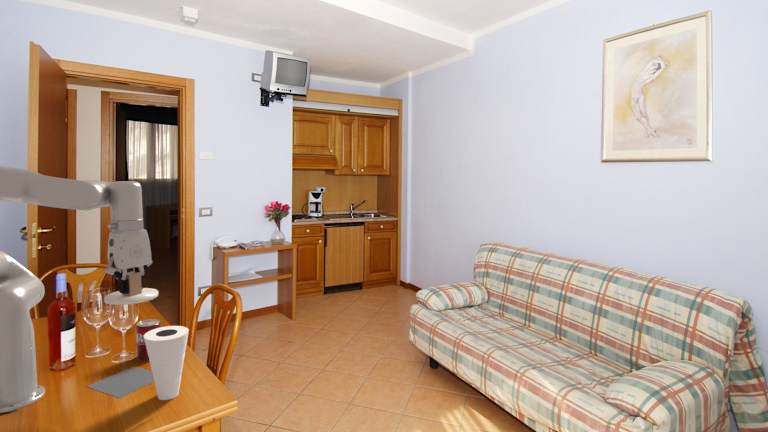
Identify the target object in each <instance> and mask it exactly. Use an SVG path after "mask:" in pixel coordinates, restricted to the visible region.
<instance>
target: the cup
mask: <svg viewBox="0 0 768 432" xmlns="http://www.w3.org/2000/svg"><path fill="white" fill-rule="evenodd" d="M189 330H190V329H189V328H188V327H187V326H182V325H168V326H167V325H166V326H161V327H160V328H156V329H153V330H151V331H148V332H147V333H145V335H144V339H145V344H146V348H147V352H148V356H149V361H148V362H149V365H150V369H151V372H152V373H153V377H154V382H153V383H154V386H155V391H156V395H157V399H158V400H160V401H168V400H173V399H175V398H177V396H179V395H180V394H179V392H180V387H181V381H182V373H183V367H184V363H185V355H186V350H187V344H188V337H189Z"/></svg>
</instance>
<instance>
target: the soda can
mask: <svg viewBox="0 0 768 432" xmlns="http://www.w3.org/2000/svg"><path fill="white" fill-rule="evenodd" d="M160 327H162V322H161V321H160V319H157V318H156V319H155V318H150V319H144V320H141V321H138V322H137V323H136V325H135V342H136V343H135V344H136V350H135V351H136V360H137V361H139V362H150V361H149V356H148V352H147V348H146V344H145V339H144V335H145V333H147V332H148V331H151V330H153V329H156V328H160Z"/></svg>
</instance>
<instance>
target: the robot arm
mask: <svg viewBox="0 0 768 432" xmlns="http://www.w3.org/2000/svg"><path fill="white" fill-rule="evenodd" d="M0 201H4V202H11V203H12V202H13V203H14V202H15V203H22V204H23V203H24V204H29V205H35V206H42V207H50V208H56V209H57V208H58V209H66V210H73V211H74V210H75V211H76V210H77V211H91V210H92V211H93V210H95V209H101V208H105V207H110V223H108V224H107V229H109V230H110V231H111V232H109V234H108V240H107V241H108V242H107V265H106V267H105V269H104V273H106V274H109V275H111V276H113V277H114V278H115V279H116V280H117V287H118V291H119V292H120V293H123V294H128V293H129V281H128V279H126V278H127V272H128V269H133V272H140V273H141V286H142V289H143V288H144V286H143V283H144V282H143V276H144V275H145V272H146V271H147V269H148V268H149V267H150V266H151V265H152V264H153V259H152V250H151V242H150V238H149V234H148V231H147V229H145V228H144V216H143V215H144V214H143V213H144V212H143V211H144V210H143V189H142V185H141V183H140V182H138V181H130V180H126V181H125V180H124V181H123V180H121V181H119V180H118V181H106V180H97V179H94V180H90V179H89V180H79V179H78V180H77V179H71V178H63V177H55V176H50V175H44V174H42V173H40V172H37V171H36V170H31V169H25V168H18V167H17V168H16V167H10V166H1V165H0ZM44 296H45V285H44V284H43V282H42V281H41V279H40V278H39V277H38V276H36V275H35V274H34V273H33V272H32V271H31V270H29V269H28V268H26V267H25V266H23V264H21V263H20V262H18V261H17V260H16V259H15V258H13V257H12V256H10V255H9V254H8V253H7V252H4V251H2V250H0V414H4V413H8V412H13V411H17V409H19V408H24V407H25V406H28V405H30V404H33V403H35V402H37V401H39V400H40V399H41V398H42V397H43V396H44V395H45V393H46V388H45V387H44V386H42V385H38V375H37V374H38V373H37V359H36V358H37V357H36V354H37V353H36V341H35V339H36V338H35V330H34V324H33V321H32V318H31V315H30V314H31V313H30V310H32V308H34V307H36V306H37V305H38V304H39V303H40V302H41V301H42V300H43V299H44Z"/></svg>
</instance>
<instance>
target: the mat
mask: <svg viewBox="0 0 768 432" xmlns="http://www.w3.org/2000/svg"><path fill="white" fill-rule="evenodd" d="M152 383H155V382H154V377H153V373H152V370H147V369H145V368H142V367H141V368H140V367H139V366H131V367H129V368H126V369H124V370H121V371H120V372H117V373H115V374H112V375H110V376H108V377H106V378H102V379H101V380H98V381H95V382H93V383H91V384H89V385H86V388H89V389H92V390H95V391H97V392H100V393H104V394H106V395H108V396H112V397H115V398H118V399H122V398H123V397H125V396H127V395H129V394H132V393H134V392H136V391H139V390H140V389H142V388H143V387H146V386H148V385H150V384H152Z"/></svg>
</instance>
